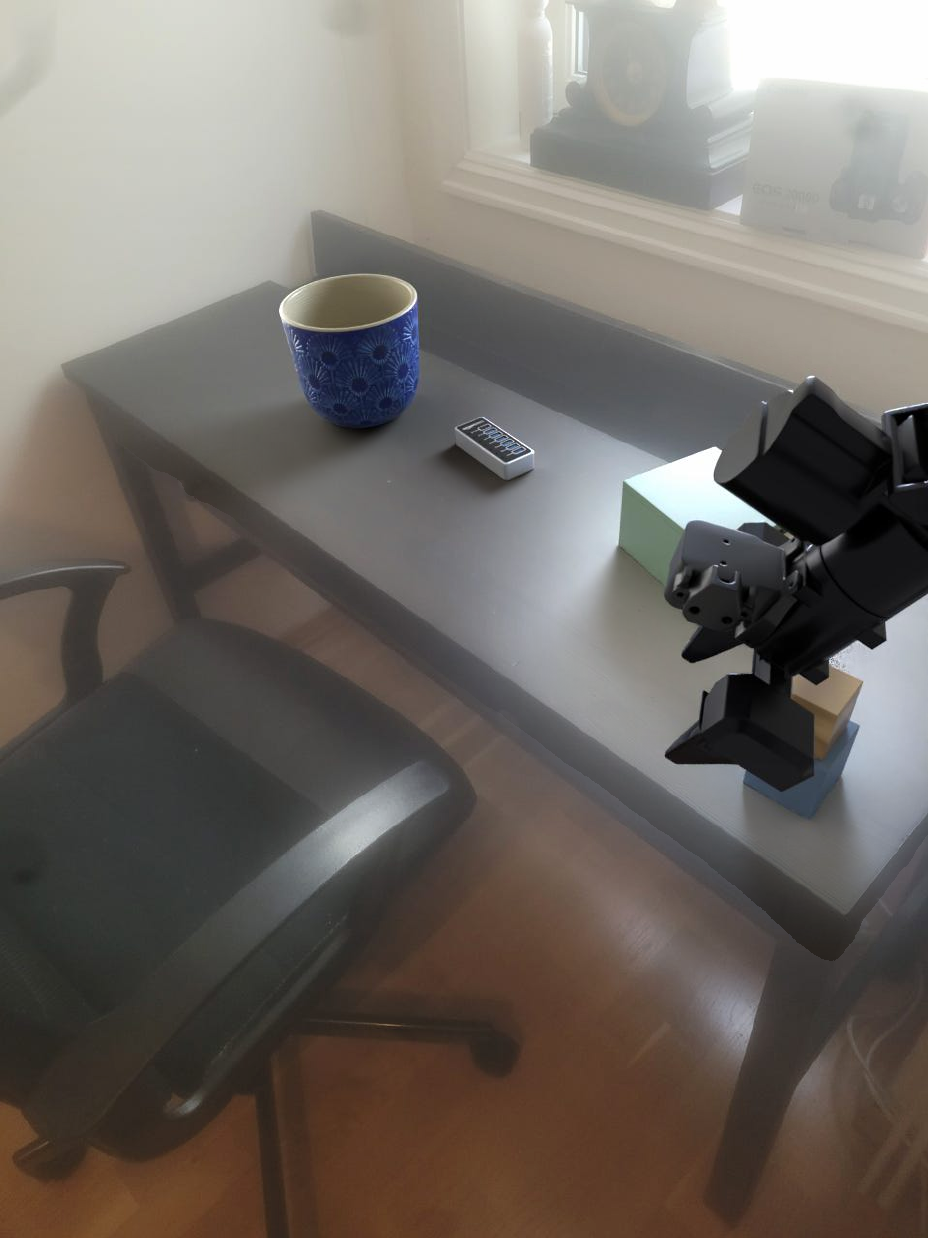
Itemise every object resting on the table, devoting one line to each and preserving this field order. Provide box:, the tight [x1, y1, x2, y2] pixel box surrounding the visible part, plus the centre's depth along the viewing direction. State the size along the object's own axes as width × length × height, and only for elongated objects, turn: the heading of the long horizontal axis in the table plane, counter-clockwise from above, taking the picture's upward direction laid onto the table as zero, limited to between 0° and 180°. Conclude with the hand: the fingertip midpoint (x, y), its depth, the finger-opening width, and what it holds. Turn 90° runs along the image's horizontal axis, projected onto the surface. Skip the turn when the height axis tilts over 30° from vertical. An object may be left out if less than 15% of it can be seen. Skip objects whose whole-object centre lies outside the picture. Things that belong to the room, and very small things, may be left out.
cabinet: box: [618, 446, 782, 587], centre depth 86 cm, size 14×12×8 cm
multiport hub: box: [454, 416, 535, 481], centre depth 105 cm, size 4×11×2 cm, turn 34°
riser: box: [742, 719, 861, 821], centre depth 67 cm, size 6×6×6 cm
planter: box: [279, 273, 420, 429], centre depth 111 cm, size 17×17×15 cm
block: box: [792, 664, 864, 761], centre depth 63 cm, size 4×4×5 cm
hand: (678, 706), depth 58 cm, fingers open, 9 cm apart
